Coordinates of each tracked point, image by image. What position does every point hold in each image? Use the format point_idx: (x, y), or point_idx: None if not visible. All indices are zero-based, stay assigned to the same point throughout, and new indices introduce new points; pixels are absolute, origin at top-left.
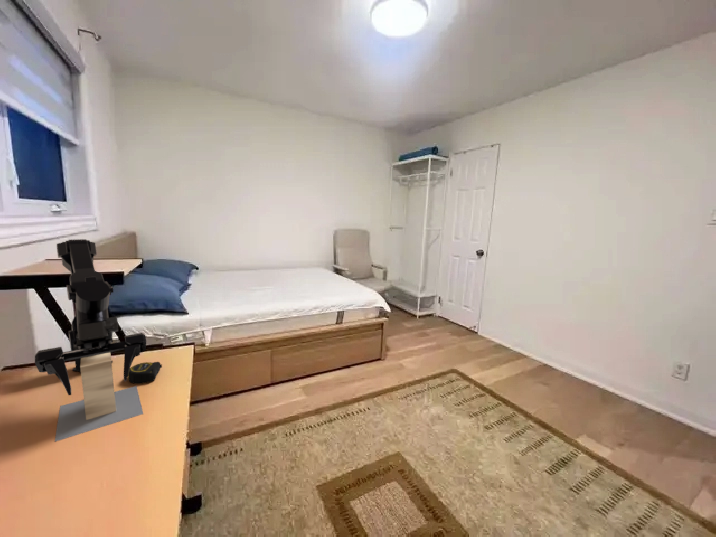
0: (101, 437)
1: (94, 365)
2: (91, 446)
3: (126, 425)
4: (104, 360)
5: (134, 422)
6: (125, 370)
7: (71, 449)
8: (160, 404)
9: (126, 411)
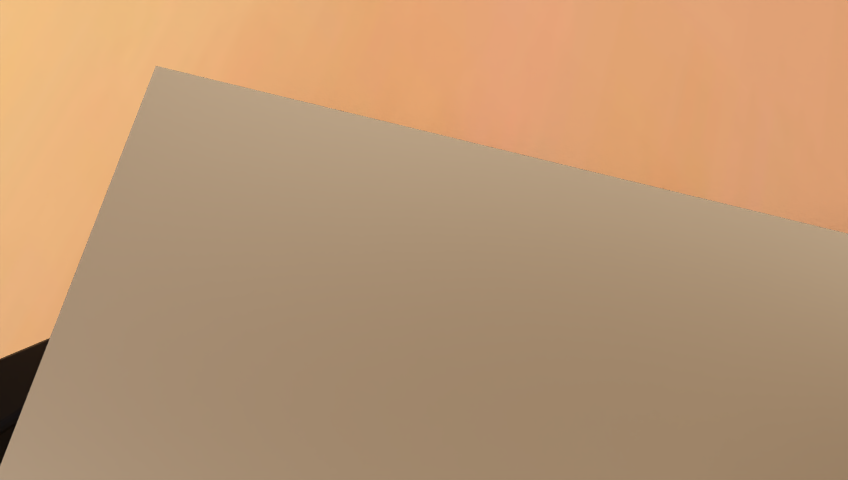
0: (584, 74)
1: (757, 245)
2: (665, 16)
3: (395, 87)
4: (336, 336)
5: (335, 79)
6: (4, 397)
7: (782, 91)
8: (57, 185)
9: None
